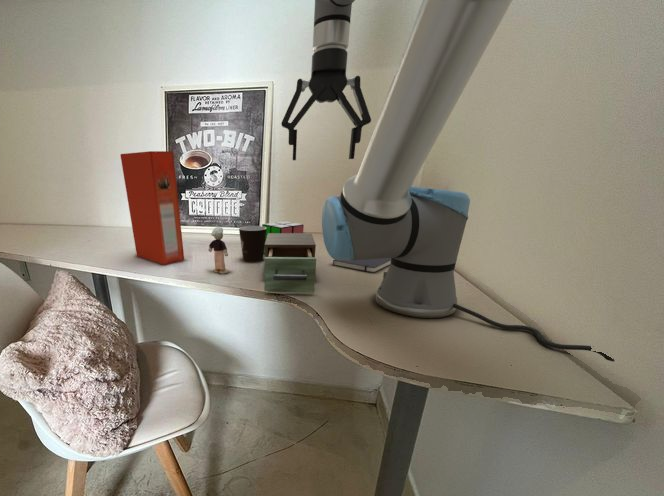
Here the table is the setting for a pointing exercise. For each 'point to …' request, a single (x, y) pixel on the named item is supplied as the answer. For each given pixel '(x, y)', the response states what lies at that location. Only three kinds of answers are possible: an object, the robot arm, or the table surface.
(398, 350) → the table surface
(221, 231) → the grandmother figurine
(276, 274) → the drawer
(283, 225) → the puzzle cube
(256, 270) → the table surface
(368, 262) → the notebook
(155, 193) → the file binder
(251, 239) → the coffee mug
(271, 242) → the cabinet
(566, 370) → the table surface
